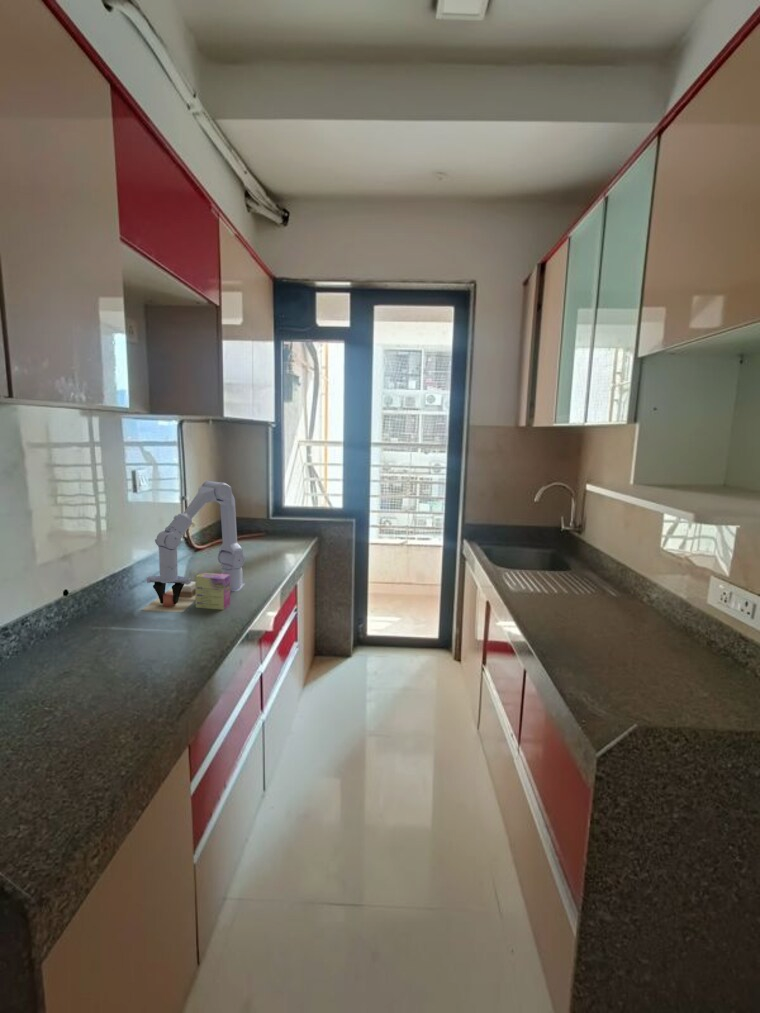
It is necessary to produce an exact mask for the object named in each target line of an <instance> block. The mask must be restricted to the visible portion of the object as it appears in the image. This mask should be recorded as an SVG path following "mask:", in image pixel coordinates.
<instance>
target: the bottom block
mask: <svg viewBox="0 0 760 1013" xmlns="http://www.w3.org/2000/svg"><path fill="white" fill-rule="evenodd" d="M195 594H196V588H195V589H194V590H192V591H191V592H184V591H181V592H180V595H179V597H193V596H194V595H195Z"/></svg>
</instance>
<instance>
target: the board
mask: <svg viewBox="0 0 760 1013" xmlns="http://www.w3.org/2000/svg"><path fill="white" fill-rule="evenodd" d="M168 592H173V590H172V587H171V588H170V589H167V591H165V593H168ZM194 602H196V594H195V595H194V596H193V597H179V599H178V603H177V604H176V605H175V606H172V607H164V606H163V604H161V603H160V600H159V597H157V598H156V599H155V600H153V601H152V602H151V603H149V604H148V605H146V606H145V607H143V608H142V609H141V610H140V611H142V612H144V611H145V612H165V613H167V612H169V613H183V612H185V611H186V610H187V609H188V608H190V606H191V605H192V604H193V603H194Z"/></svg>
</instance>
